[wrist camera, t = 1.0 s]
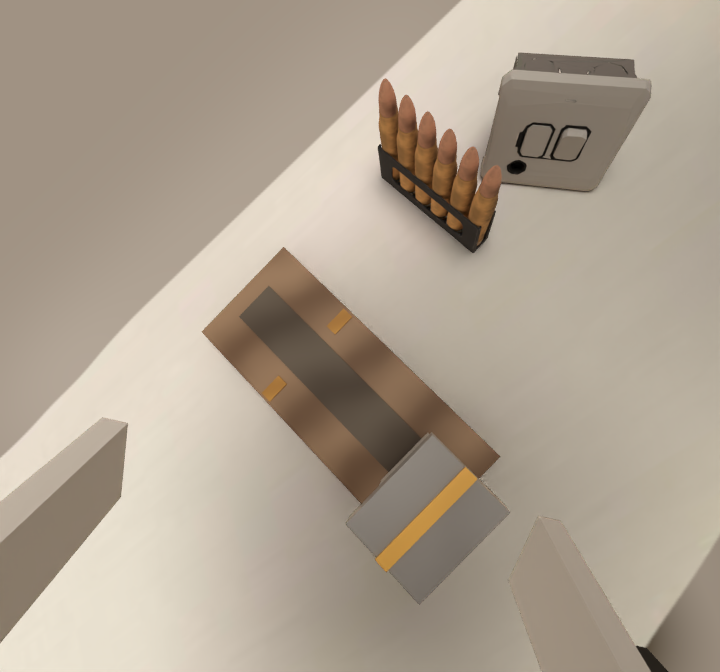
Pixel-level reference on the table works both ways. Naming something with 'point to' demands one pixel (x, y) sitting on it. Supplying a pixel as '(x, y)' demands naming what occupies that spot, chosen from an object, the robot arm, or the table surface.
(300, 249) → the table surface
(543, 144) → the electrical switch
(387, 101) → the ammunition clip
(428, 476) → the fader tab
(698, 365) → the table surface
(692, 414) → the table surface
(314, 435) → the fader console
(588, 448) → the table surface
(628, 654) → the robot arm
